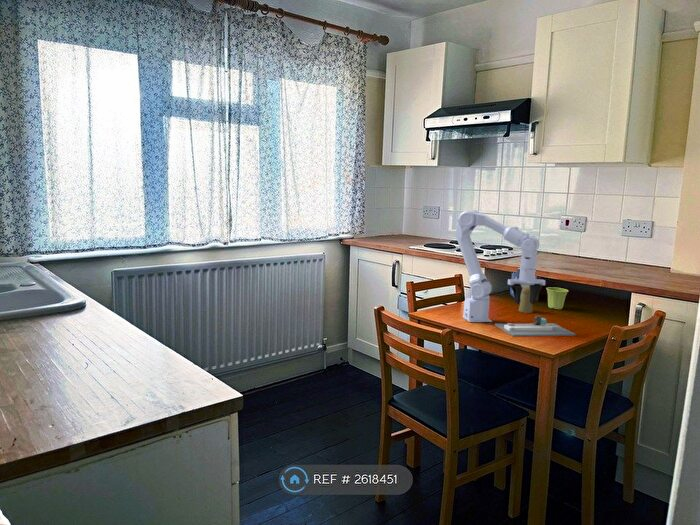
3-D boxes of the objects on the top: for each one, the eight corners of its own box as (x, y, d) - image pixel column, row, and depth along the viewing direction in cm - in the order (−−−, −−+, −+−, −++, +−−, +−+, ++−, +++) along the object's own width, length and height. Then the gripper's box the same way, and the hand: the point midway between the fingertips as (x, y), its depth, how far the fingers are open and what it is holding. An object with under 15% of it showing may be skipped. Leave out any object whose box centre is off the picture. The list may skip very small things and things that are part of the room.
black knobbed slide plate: (515, 328, 197) (516, 317, 197) (512, 326, 199) (513, 315, 199) (549, 328, 200) (550, 317, 199) (546, 326, 202) (547, 315, 201)
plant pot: (559, 305, 245) (561, 287, 244) (570, 310, 236) (572, 291, 234) (540, 305, 243) (542, 287, 242) (551, 310, 234) (553, 291, 233)
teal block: (538, 326, 202) (539, 319, 201) (535, 325, 204) (536, 318, 204) (545, 326, 202) (546, 319, 202) (542, 324, 205) (543, 317, 204)
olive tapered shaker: (533, 313, 227) (536, 288, 225) (519, 312, 228) (521, 287, 226) (531, 310, 233) (534, 285, 231) (517, 309, 234) (519, 284, 232)
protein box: (530, 294, 267) (533, 264, 265) (538, 301, 252) (541, 269, 250) (509, 293, 268) (512, 263, 266) (515, 300, 253) (518, 268, 251)
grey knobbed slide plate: (512, 336, 190) (513, 329, 190) (494, 325, 205) (494, 319, 204) (575, 335, 194) (576, 329, 194) (553, 324, 209) (553, 318, 209)
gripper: (515, 269, 195) (511, 305, 197) (551, 270, 197) (547, 305, 199) (506, 266, 201) (503, 301, 204) (541, 267, 204) (537, 301, 206)
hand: (524, 303), depth 202 cm, fingers open, 5 cm apart
